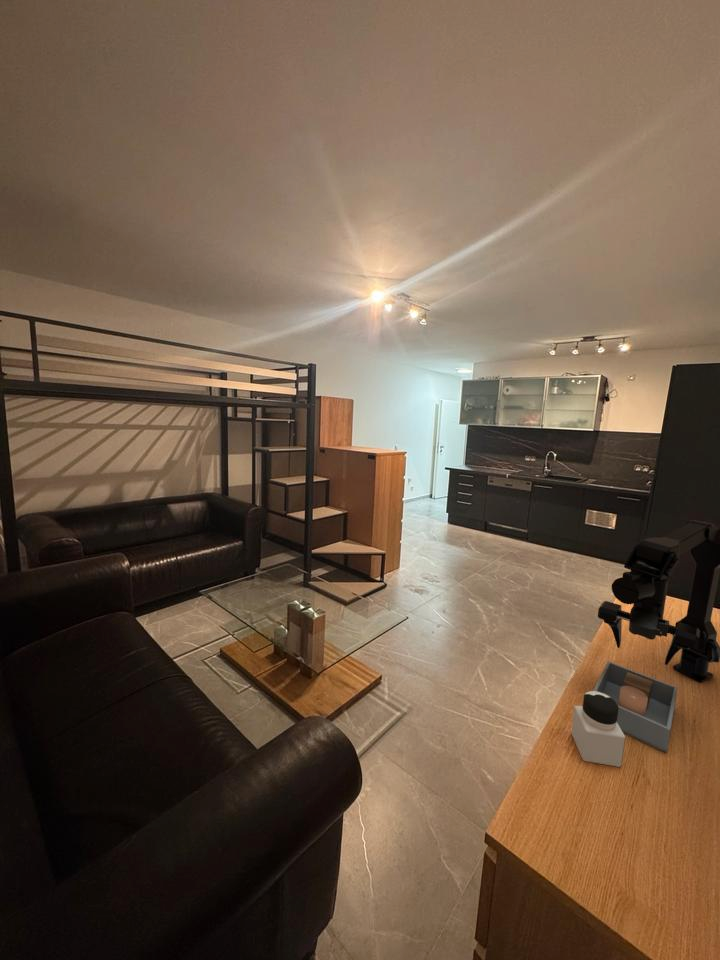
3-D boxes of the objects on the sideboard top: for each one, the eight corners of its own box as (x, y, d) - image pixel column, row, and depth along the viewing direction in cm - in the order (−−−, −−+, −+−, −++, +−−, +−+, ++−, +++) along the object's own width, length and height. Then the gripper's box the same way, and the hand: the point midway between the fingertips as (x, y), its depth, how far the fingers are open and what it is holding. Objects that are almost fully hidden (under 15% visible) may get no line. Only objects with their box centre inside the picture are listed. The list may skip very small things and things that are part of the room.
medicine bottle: (622, 768, 75) (629, 714, 73) (582, 761, 76) (588, 709, 74) (606, 738, 82) (612, 689, 80) (570, 733, 83) (576, 684, 81)
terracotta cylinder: (616, 709, 89) (620, 682, 88) (642, 718, 86) (647, 691, 85) (616, 722, 85) (620, 695, 84) (643, 733, 82) (648, 705, 81)
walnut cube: (625, 689, 96) (627, 671, 95) (649, 699, 92) (652, 681, 91) (621, 700, 92) (623, 681, 91) (646, 711, 89) (649, 692, 88)
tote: (605, 679, 100) (607, 660, 99) (674, 708, 90) (677, 687, 89) (588, 715, 88) (591, 695, 87) (666, 753, 78) (670, 730, 77)
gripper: (595, 593, 88) (588, 653, 91) (702, 623, 76) (690, 692, 78) (606, 578, 96) (599, 634, 99) (704, 603, 83) (693, 667, 86)
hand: (641, 655), depth 90 cm, fingers open, 9 cm apart
